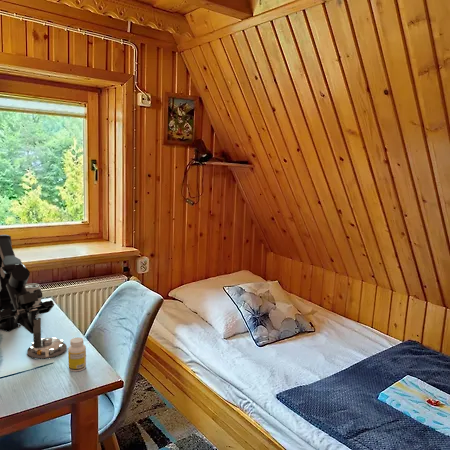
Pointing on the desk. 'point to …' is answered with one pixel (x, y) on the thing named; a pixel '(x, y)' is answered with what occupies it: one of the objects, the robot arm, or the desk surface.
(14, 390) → the desk surface
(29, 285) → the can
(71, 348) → the supplement bottle
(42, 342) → the sprocket
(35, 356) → the base plate
